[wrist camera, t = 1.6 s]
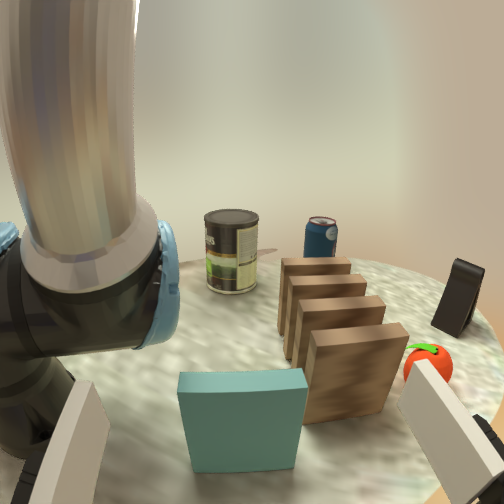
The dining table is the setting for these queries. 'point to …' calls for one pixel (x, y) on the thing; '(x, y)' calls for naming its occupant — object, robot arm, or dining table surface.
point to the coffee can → (231, 250)
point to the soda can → (320, 238)
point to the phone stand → (459, 298)
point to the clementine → (430, 359)
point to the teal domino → (242, 419)
